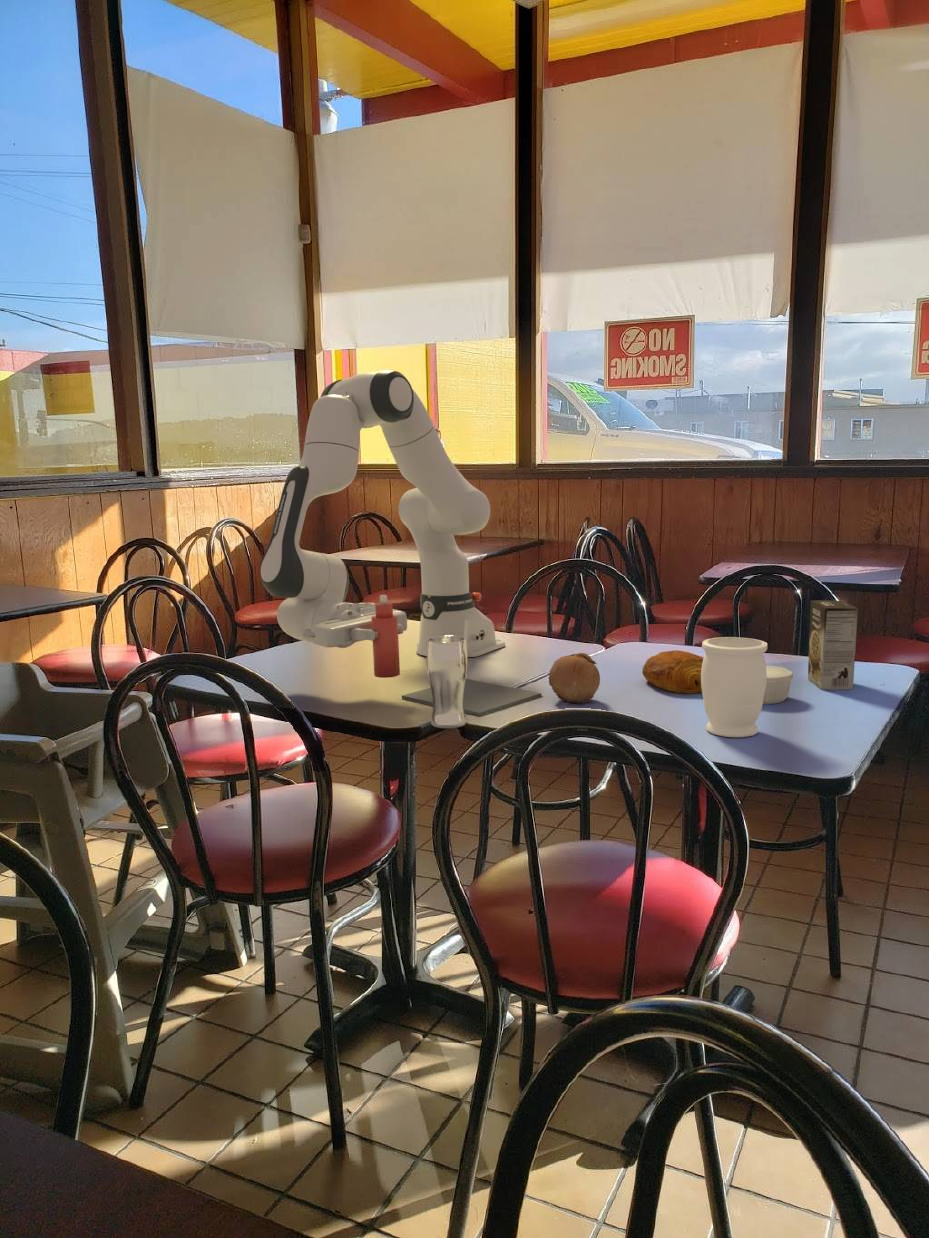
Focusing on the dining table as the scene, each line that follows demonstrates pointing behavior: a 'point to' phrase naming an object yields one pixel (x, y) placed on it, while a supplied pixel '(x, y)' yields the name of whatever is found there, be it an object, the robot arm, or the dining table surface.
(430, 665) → the beer glass
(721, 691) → the jar
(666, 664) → the croissant
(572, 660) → the brown round fruit
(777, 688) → the ramekin
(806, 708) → the dining table surface
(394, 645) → the bottle
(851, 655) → the coffee box
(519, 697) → the mat
